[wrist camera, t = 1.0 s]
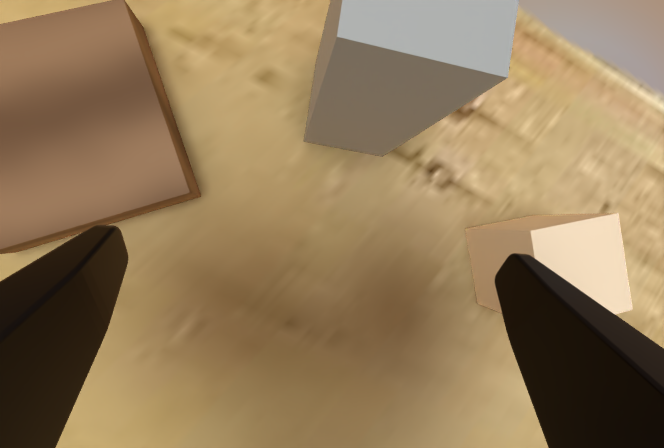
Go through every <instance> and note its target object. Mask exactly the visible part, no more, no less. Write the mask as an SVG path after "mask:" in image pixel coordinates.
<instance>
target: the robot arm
mask: <svg viewBox="0 0 664 448" xmlns="http://www.w3.org/2000/svg"><path fill="white" fill-rule="evenodd" d="M127 264H128V253H127V249H126V246H125V243H124V240H123V236H122V233H121V231H120V229H119V228H118V227H116V226H108V225H95V226H93V227H91V228H89V229H88V230H86V231H84V232H83V233H81V234H79V235H78V236H76V237H74V238H73V239H71V240H69V241H67V242H66V243H64V244H62V245H61V246H59V247H57V248H56V249H54V250H52V251H51V252H49V253H47V254H46V255H44V256H42V257H41V258H39V259H37V260H36V261H34V262H32V263H31V264H29V265H27V266H26V267H24V268H22V269H20V270H19V271H17V272H15V273H14V274H12V275H10V276H9V277H7V278H5V279H4V280H2V281H0V448H55V447H56V445H57V443H58V441H59V438H60V436H61V434H62V431H63V429H64V427H65V425H66V422H67V420H68V418H69V416H70V413H71V411H72V409H73V407H74V404H75V402H76V400H77V398H78V395H79V393H80V391H81V388H82V386H83V384H84V382H85V379H86V377H87V375H88V373H89V370H90V368H91V366H92V364H93V361H94V359H95V357H96V355H97V352H98V350H99V348H100V345H101V343H102V341H103V339H104V336H105V334H106V331H107V329H108V326H109V323H110V320H111V317H112V313H113V310H114V307H115V304H116V300H117V297H118V294H119V290H120V287H121V284H122V281H123V277H124V274H125V271H126V267H127ZM495 287H496V291H497V295H498V299H499V303H500V307H501V311H502V314H503V318H504V322H505V326H506V330H507V334H508V337H509V340H510V343H511V346H512V349H513V352H514V355H515V357H516V360H517V363H518V366H519V368H520V371H521V374H522V377H523V379H524V382H525V385H526V387H527V390H528V393H529V396H530V398H531V401H532V404H533V406H534V409H535V412H536V415H537V417H538V420H539V423H540V426H541V428H542V431H543V434H544V436H545V439H546V442H547V445H548V447H549V448H664V349H663V348H662V347H660V346H659V345H658V344H656V343H655V342H653V341H652V340H651V339H649V338H648V337H646V336H645V335H643V334H642V333H641V332H639V331H638V330H636V329H635V328H633V327H632V326H631V325H629V324H628V323H626V322H625V321H623V320H622V319H621V318H619V317H618V316H616V315H615V314H613V313H612V312H611V311H609V310H608V309H606V308H605V307H603V306H602V305H601V304H599V303H598V302H596V301H595V300H593V299H592V298H591V297H589V296H588V295H586V294H585V293H584V292H582V291H581V290H579V289H578V288H576V287H575V286H574V285H572V284H571V283H569V282H568V281H566V280H565V279H564V278H562V277H561V276H559V275H558V274H556V273H555V272H554V271H552V270H551V269H549V268H548V267H546V266H545V265H544V264H542V263H541V262H539V261H538V260H536V259H535V258H534V257H532V256H531V255H528V254H521V253H512V254H510V255H509V256H508V257H507V259H506V260H505V262H504V263H503V264H502V266H501V267H500V269H499V270H498V272H497V273H496V275H495Z"/></svg>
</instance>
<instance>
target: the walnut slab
mask: <svg viewBox="0 0 664 448" xmlns="http://www.w3.org/2000/svg"><path fill="white" fill-rule="evenodd" d="M197 197H201V195H200V192H199V189H198V186H197V183H196V180H195V177H194V174H193V171H192V168H191V165H190V163H189V160H188V157H187V154H186V151H185V148H184V145H183V142H182V139H181V136H180V133H179V130H178V127H177V125H176V122H175V119H174V116H173V113H172V110H171V107H170V104H169V101H168V98H167V95H166V92H165V90H164V87H163V84H162V81H161V78H160V75H159V72H158V69H157V66H156V63H155V60H154V57H153V55H152V52H151V49H150V46H149V43H148V40H147V37H146V34H145V31H144V28H143V26H142V25H141V23H140V22H139V20H138V19H137V18H136V16H135V15H134V13H133V12H132V10H131V9H130V7H129V6H128V5H127V3H126V2H125V0H112V1H107V2H102V3H98V4H93V5H88V6H83V7H79V8H74V9H69V10H65V11H60V12H55V13H51V14H46V15H41V16H36V17H32V18H27V19H22V20H18V21H13V22H8V23H4V24H0V254H5V253H14V252H19V251H22V250H25V249H28V248H32V247H35V246H38V245H42V244H45V243H48V242H52V241H55V240H58V239H62V238H65V237H68V236H72V235H75V234H78V233H81V232H84V231H86V230H88V229H89V228H91V227H93V226H95V225H108V224H111V223H115V222H118V221H121V220H125V219H128V218H131V217H134V216H138V215H141V214H144V213H148V212H151V211H154V210H158V209H161V208H164V207H168V206H171V205H174V204H178V203H181V202H184V201H187V200H191V199H194V198H197Z"/></svg>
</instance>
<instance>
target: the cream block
mask: <svg viewBox="0 0 664 448" xmlns="http://www.w3.org/2000/svg"><path fill="white" fill-rule="evenodd" d="M465 232H466V238H467V244H468V250H469V256H470V262H471V268H472V274H473V281H474V287H475V293H476V299H477V304H480V305H482V306H485V307H487V308H490V309H492V310H494V311H497V312H499V313H502V311H501V307H500V303H499V299H498V295H497V291H496V287H495V275H496V273H497V272H498V270H499V269H500V267H501V266H502V264H503V263H504V262H505V260H506V259H507V257H508V256H509V255H510V254H512V253H521V254H528V255H531V256H532V257H534V258H535V259H536V260H538V261H539V262H541V263H542V264H544V265H545V266H546V267H548V268H549V269H551V270H552V271H554V272H555V273H556V274H558V275H559V276H561V277H562V278H564V279H565V280H566V281H568V282H569V283H571V284H572V285H574V286H575V287H576V288H578V289H579V290H581V291H582V292H584V293H585V294H586V295H588V296H589V297H591V298H592V299H593V300H595V301H596V302H598V303H599V304H601V305H602V306H603V307H605V308H606V309H608V310H609V311H611V312H612V313H613V314H618V313H622V312H626V311H630V310H633V308H632V301H631V294H630V288H629V281H628V274H627V268H626V261H625V254H624V248H623V241H622V234H621V228H620V221H619V214H618V213H600V214H563V215H532V216H527V217H522V218H517V219H511V220H506V221H501V222H496V223H491V224H486V225H481V226H476V227H471V228H466V229H465Z"/></svg>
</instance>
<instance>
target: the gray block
mask: <svg viewBox="0 0 664 448" xmlns="http://www.w3.org/2000/svg"><path fill="white" fill-rule="evenodd" d="M518 3H519V0H330V4H329V9H328V13H327V17H326V21H325V26H324V30H323V34H322V38H321V42H320V47H319V51H318V55H317V59H316V65H315V72H314V78H313V85H312V91H311V97H310V104H309V110H308V117H307V123H306V130H305V136H304V142H309V143H314V144H320V145H325V146H330V147H335V148H341V149H346V150H351V151H356V152H362V153H367V154H372V155H377V156H384V155H386V154H387V153H389V152H391V151H392V150H394V149H395V148H397V147H398V146H400V145H402V144H403V143H405V142H406V141H408V140H410V139H411V138H413V137H414V136H416V135H418V134H419V133H421V132H422V131H424V130H425V129H427V128H429V127H430V126H432V125H433V124H435V123H437V122H438V121H440V120H441V119H443V118H445V117H446V116H448V115H449V114H451V113H452V112H454V111H456V110H457V109H459V108H460V107H462V106H464V105H465V104H467V103H468V102H470V101H472V100H473V99H475V98H476V97H478V96H479V95H481V94H483V93H484V92H486V91H487V90H489V89H491V88H492V87H494V86H495V85H497V84H498V83H500V82H502V81H503V80H505V79H506V78H508V72H509V65H510V58H511V51H512V44H513V37H514V30H515V24H516V17H517V10H518Z"/></svg>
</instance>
